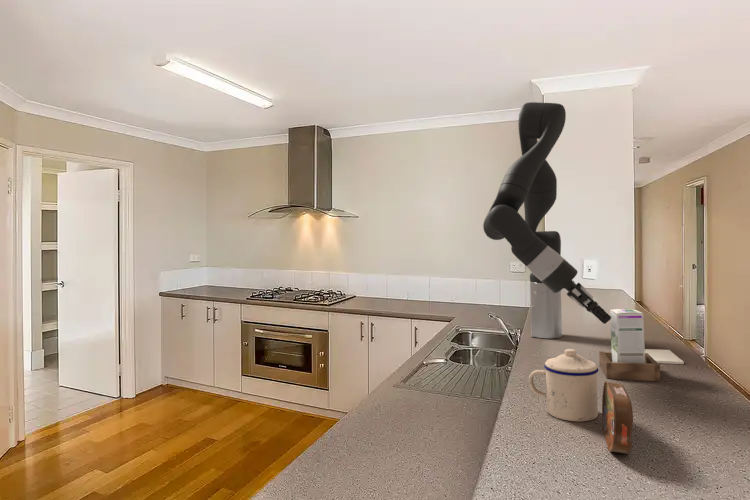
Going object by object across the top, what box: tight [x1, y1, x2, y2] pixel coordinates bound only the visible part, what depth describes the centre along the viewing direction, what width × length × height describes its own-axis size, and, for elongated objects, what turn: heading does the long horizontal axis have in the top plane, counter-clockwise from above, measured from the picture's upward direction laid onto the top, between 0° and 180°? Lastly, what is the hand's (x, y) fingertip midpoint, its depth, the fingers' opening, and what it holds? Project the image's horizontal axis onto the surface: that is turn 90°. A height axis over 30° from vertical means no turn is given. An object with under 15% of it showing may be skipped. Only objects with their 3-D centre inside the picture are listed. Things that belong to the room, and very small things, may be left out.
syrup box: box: [609, 308, 646, 363], centre depth 108 cm, size 6×6×14 cm
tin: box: [601, 380, 634, 455], centre depth 74 cm, size 15×3×8 cm, turn 159°
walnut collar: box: [598, 350, 661, 382], centre depth 108 cm, size 10×10×4 cm
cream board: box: [645, 348, 685, 365], centre depth 121 cm, size 12×12×1 cm
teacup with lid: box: [528, 348, 599, 423], centre depth 86 cm, size 12×9×12 cm
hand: (605, 317), depth 109 cm, fingers open, 8 cm apart
